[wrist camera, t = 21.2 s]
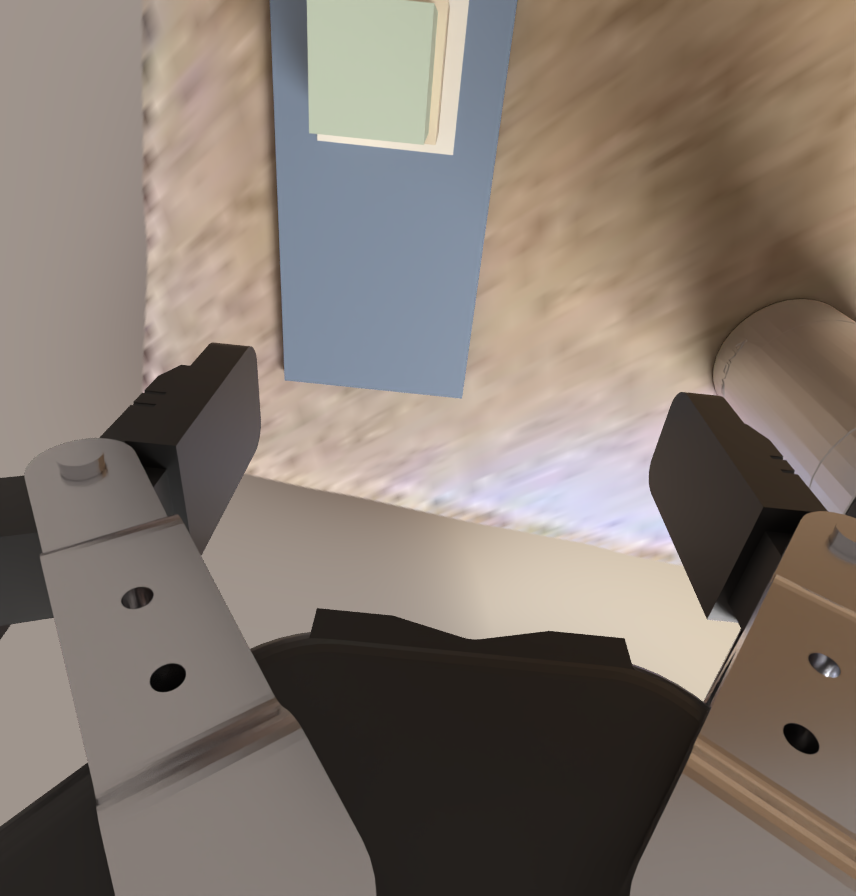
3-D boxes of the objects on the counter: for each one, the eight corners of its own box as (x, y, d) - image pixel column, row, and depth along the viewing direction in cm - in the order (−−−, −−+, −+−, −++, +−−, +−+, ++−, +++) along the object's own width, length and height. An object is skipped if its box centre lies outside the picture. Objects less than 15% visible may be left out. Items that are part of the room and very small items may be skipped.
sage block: (438, 11, 28) (434, 3, 24) (428, 133, 31) (423, 145, 26) (329, 0, 28) (306, -11, 24) (329, 122, 31) (309, 132, 26)
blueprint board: (523, -56, 31) (525, -60, 30) (461, 392, 45) (461, 399, 44) (271, -85, 31) (265, -89, 30) (287, 374, 45) (284, 380, 44)
